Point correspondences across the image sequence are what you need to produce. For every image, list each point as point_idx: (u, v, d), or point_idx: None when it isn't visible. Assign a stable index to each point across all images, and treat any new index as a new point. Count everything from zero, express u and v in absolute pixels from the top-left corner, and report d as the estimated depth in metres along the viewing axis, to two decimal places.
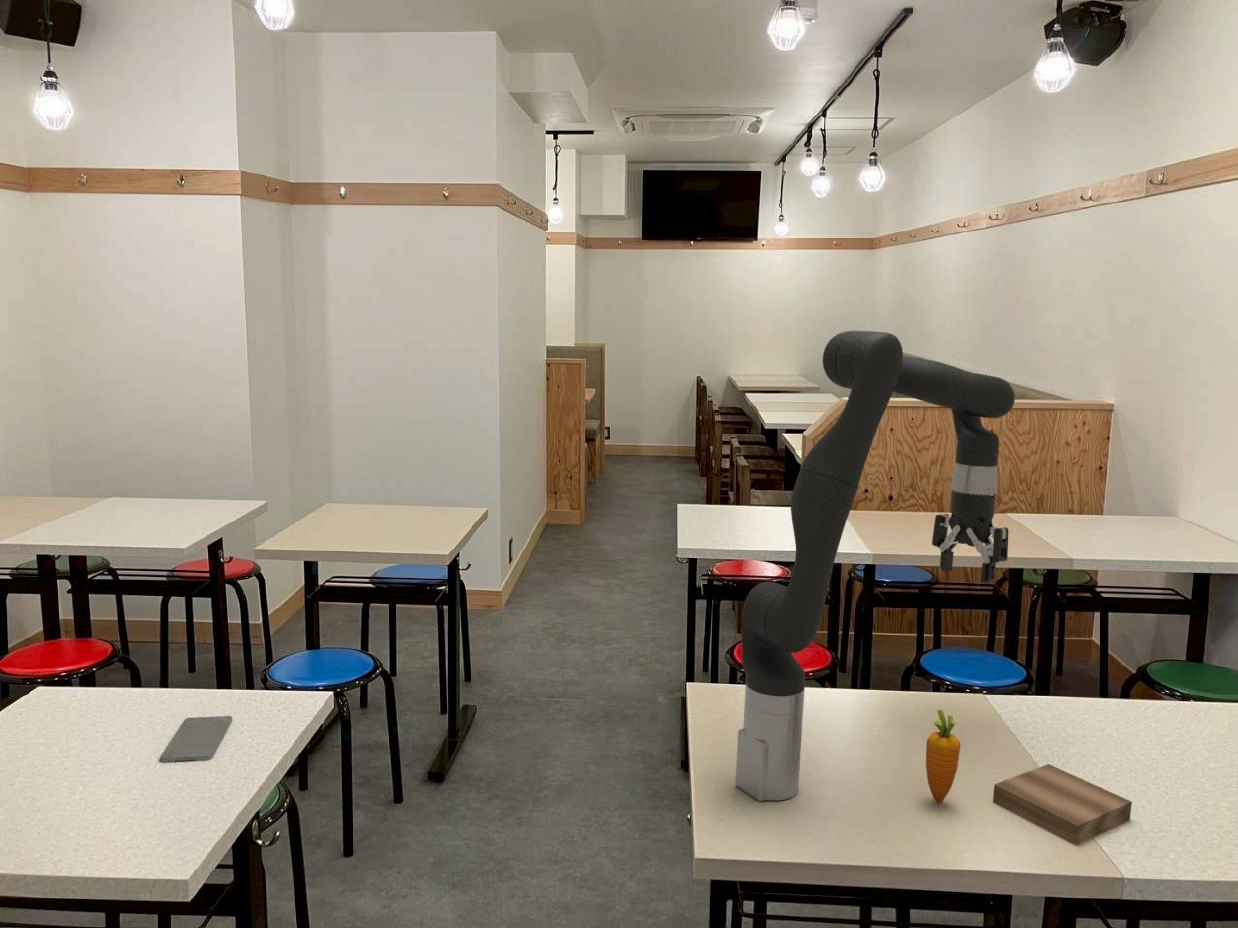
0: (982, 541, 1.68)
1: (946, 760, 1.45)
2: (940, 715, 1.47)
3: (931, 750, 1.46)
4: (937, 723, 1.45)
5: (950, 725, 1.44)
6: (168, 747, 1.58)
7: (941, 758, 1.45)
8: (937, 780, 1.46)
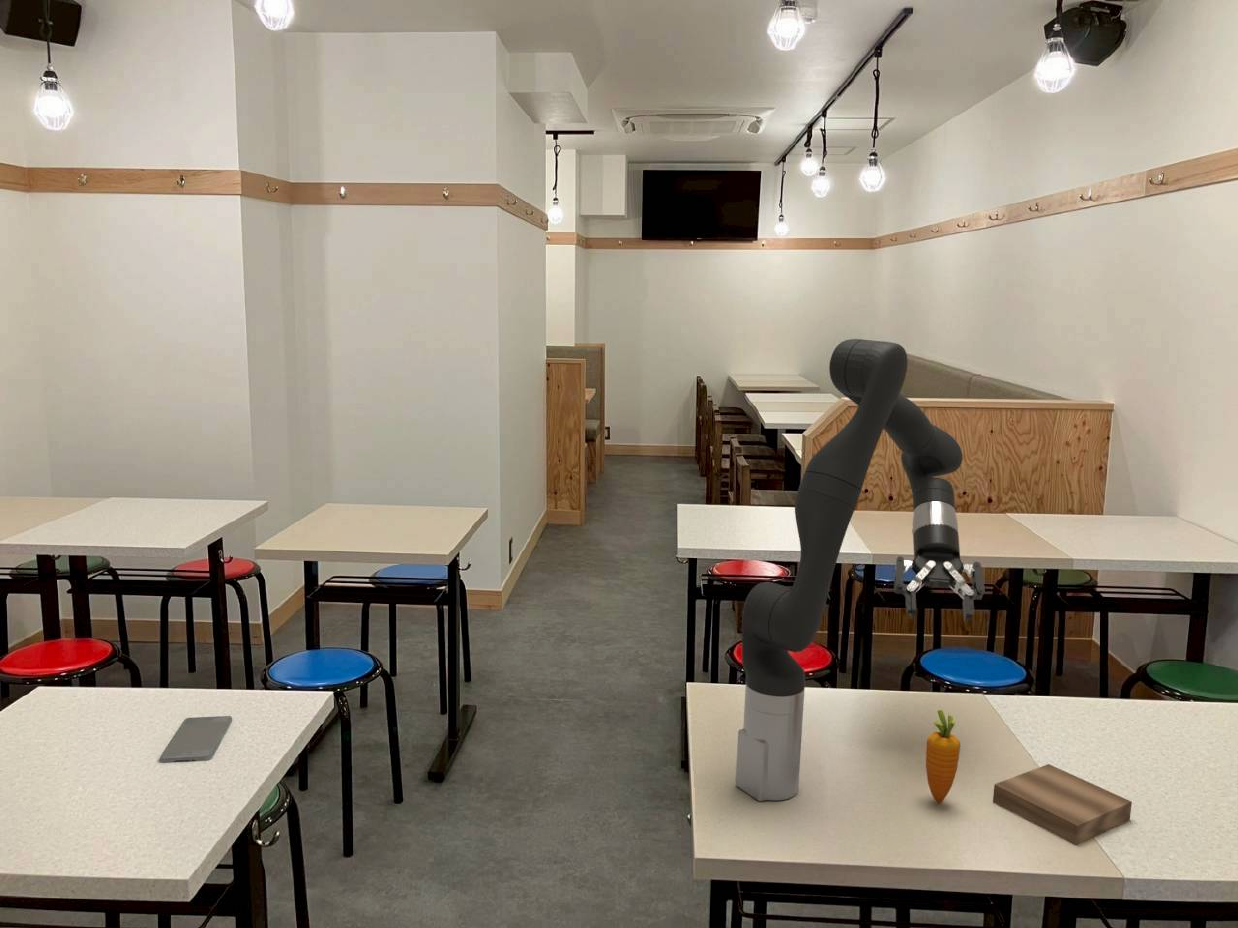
0: (955, 579, 1.59)
1: (946, 760, 1.45)
2: (940, 715, 1.47)
3: (931, 750, 1.46)
4: (937, 723, 1.45)
5: (950, 725, 1.44)
6: (168, 747, 1.58)
7: (941, 758, 1.45)
8: (937, 780, 1.46)
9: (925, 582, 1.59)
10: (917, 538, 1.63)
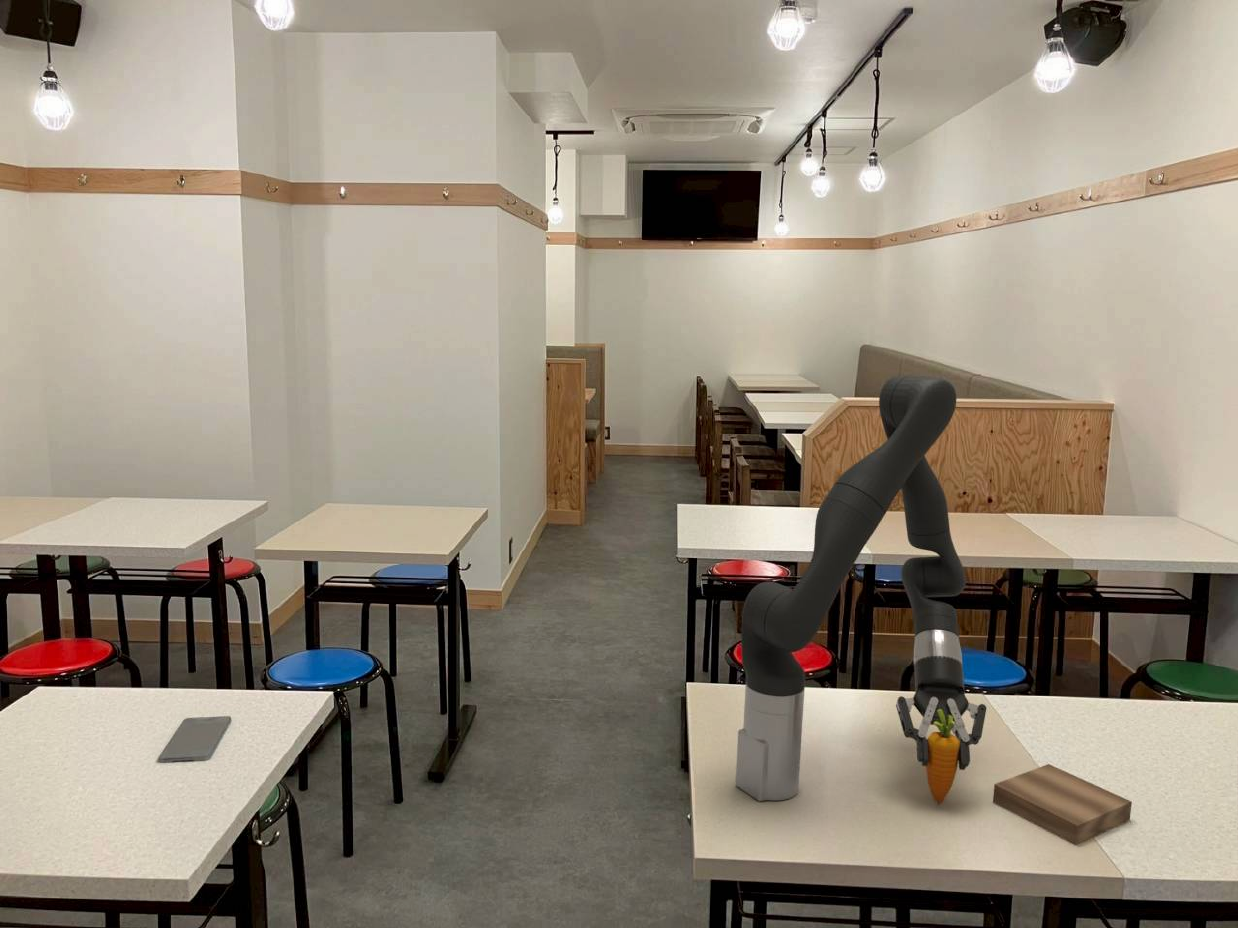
0: None
1: (946, 760, 1.45)
2: (940, 715, 1.47)
3: (931, 750, 1.46)
4: (937, 723, 1.45)
5: (950, 725, 1.44)
6: (167, 747, 1.58)
7: (941, 758, 1.45)
8: (937, 780, 1.46)
9: None
10: (919, 670, 1.53)
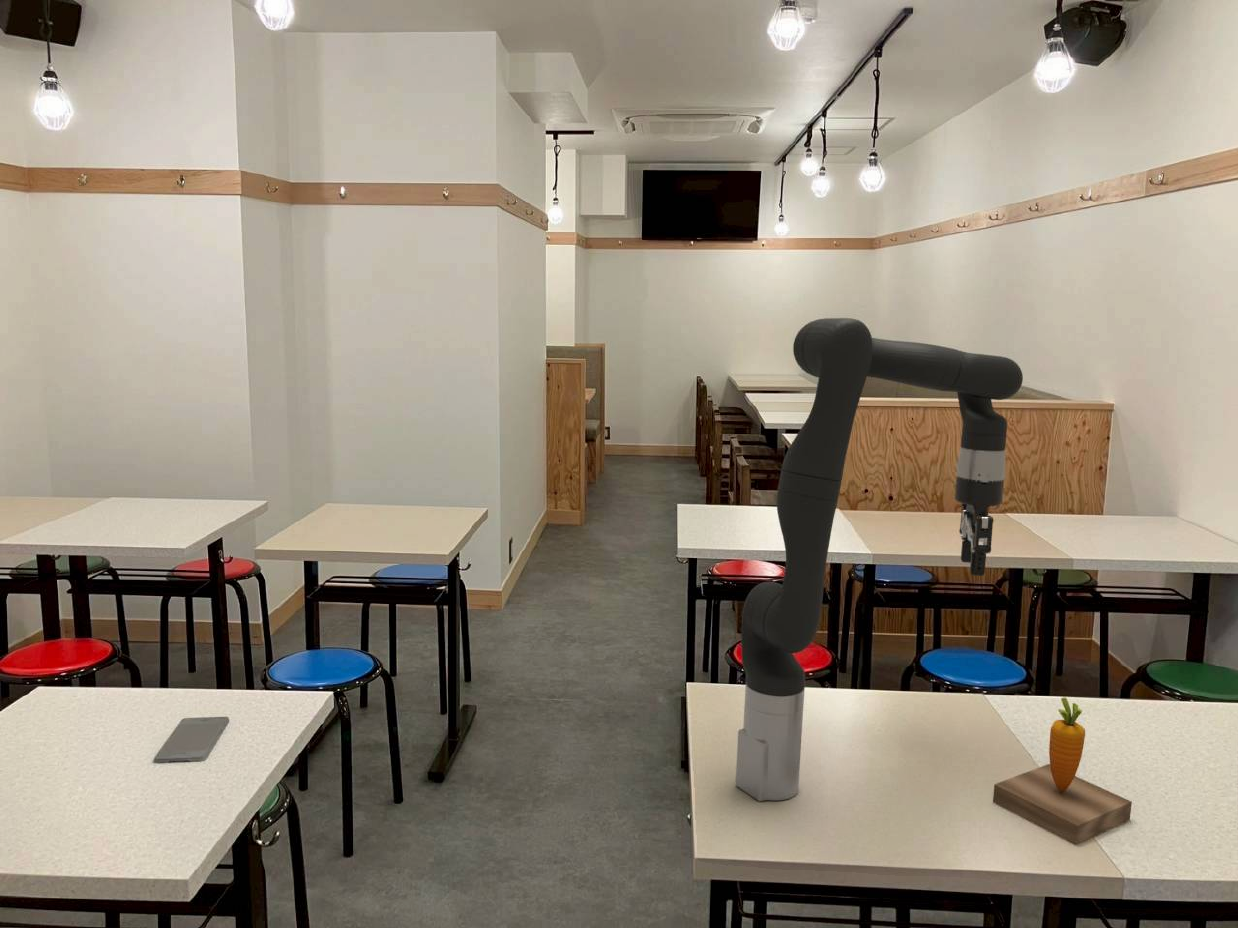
0: None
1: (1072, 748, 1.43)
2: (1064, 703, 1.45)
3: (1056, 738, 1.44)
4: (1063, 711, 1.43)
5: (1077, 713, 1.43)
6: (163, 747, 1.58)
7: (1067, 746, 1.43)
8: (1061, 769, 1.44)
9: None
10: None
